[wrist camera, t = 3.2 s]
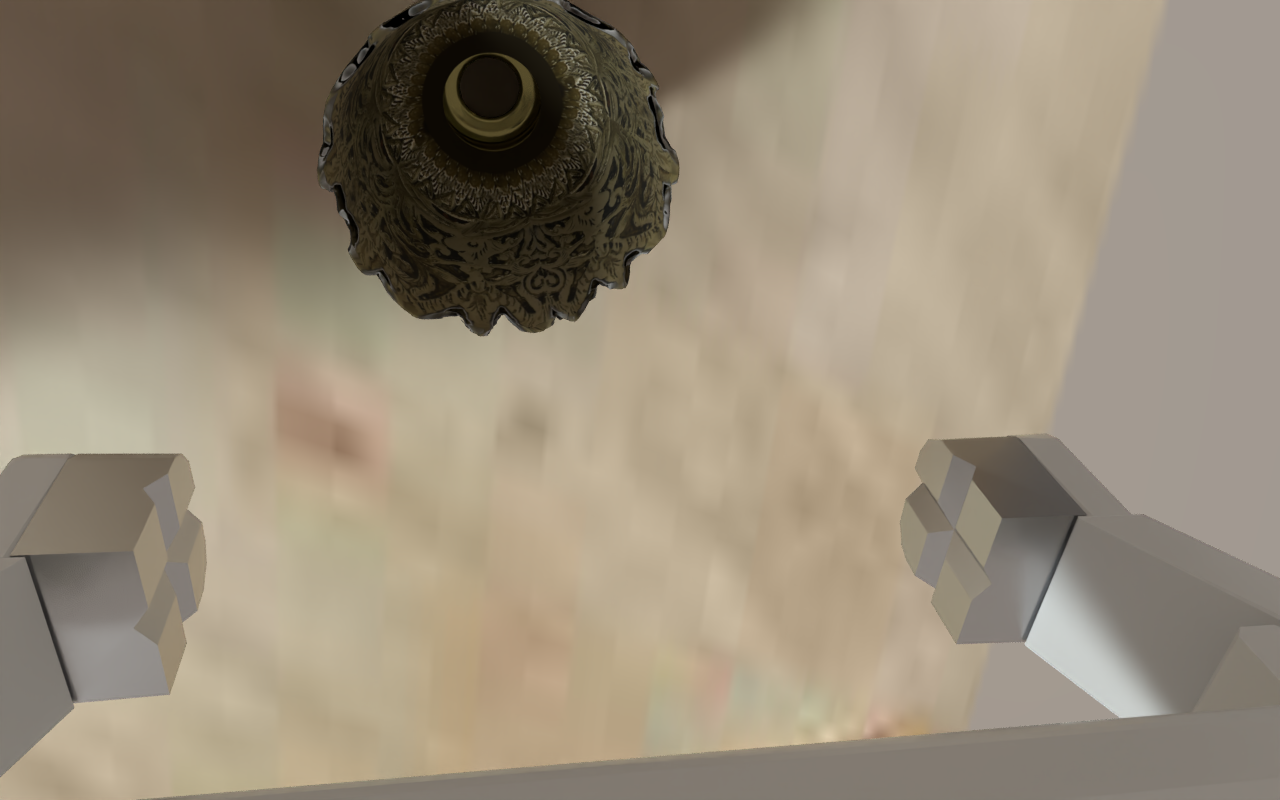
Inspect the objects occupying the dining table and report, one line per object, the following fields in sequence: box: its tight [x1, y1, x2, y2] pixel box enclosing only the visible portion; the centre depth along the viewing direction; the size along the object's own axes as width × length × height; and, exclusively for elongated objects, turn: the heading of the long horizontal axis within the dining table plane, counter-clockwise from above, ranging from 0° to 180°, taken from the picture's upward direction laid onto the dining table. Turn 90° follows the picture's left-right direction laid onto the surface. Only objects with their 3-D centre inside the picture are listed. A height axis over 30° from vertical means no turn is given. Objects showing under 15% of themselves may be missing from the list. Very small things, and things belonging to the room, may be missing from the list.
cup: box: [317, 0, 679, 336], centre depth 23 cm, size 8×7×8 cm
